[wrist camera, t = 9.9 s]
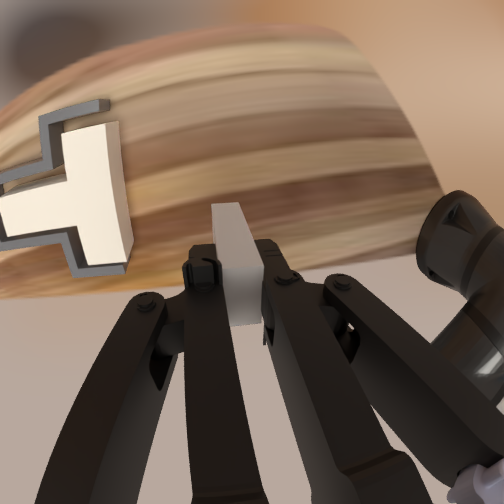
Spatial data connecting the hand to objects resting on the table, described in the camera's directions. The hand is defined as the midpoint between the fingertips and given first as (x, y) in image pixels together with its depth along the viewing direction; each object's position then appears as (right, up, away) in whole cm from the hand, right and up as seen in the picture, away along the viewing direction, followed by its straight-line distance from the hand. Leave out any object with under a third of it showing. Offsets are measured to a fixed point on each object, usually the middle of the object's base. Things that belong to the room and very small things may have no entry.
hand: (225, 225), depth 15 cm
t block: (-17, +4, +6) cm, 18 cm away
